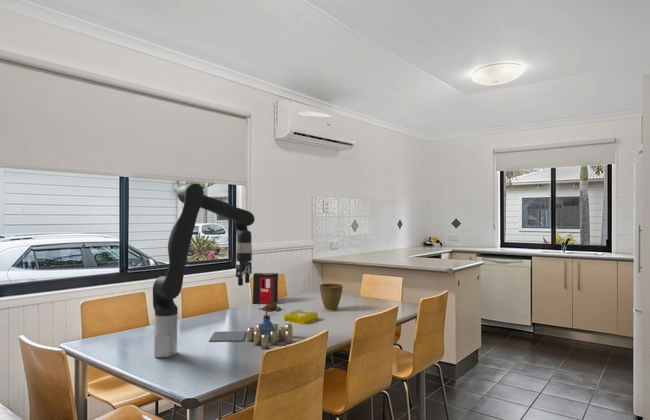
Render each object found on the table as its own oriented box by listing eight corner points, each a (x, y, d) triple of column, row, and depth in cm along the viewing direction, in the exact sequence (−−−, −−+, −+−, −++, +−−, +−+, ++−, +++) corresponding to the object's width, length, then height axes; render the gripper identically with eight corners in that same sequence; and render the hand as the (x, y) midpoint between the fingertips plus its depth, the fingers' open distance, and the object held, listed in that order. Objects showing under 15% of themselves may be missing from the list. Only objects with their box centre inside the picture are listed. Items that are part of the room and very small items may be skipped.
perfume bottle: (273, 338, 210) (273, 314, 210) (272, 342, 203) (272, 317, 204) (260, 338, 209) (261, 314, 210) (259, 342, 203) (259, 317, 203)
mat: (243, 341, 204) (243, 340, 205) (208, 341, 203) (208, 340, 203) (246, 332, 220) (246, 331, 220) (214, 332, 219) (214, 331, 219)
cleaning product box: (252, 304, 293) (253, 274, 293) (254, 301, 302) (254, 273, 302) (277, 304, 294) (277, 274, 295) (277, 301, 303) (278, 273, 303)
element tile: (318, 320, 251) (319, 312, 251) (303, 325, 239) (303, 316, 239) (298, 316, 259) (298, 308, 260) (282, 321, 247) (282, 313, 247)
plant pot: (319, 307, 285) (320, 283, 285) (342, 307, 285) (342, 283, 285) (318, 312, 270) (319, 286, 271) (342, 312, 270) (342, 287, 270)
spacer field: (292, 349, 193) (292, 335, 194) (244, 349, 192) (244, 336, 192) (291, 332, 222) (292, 320, 222) (249, 332, 220) (250, 321, 220)
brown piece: (288, 311, 275) (288, 301, 275) (267, 316, 258) (267, 307, 258) (267, 307, 285) (267, 298, 285) (246, 313, 268) (246, 303, 268)
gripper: (245, 253, 206) (245, 286, 206) (256, 250, 220) (256, 282, 220) (231, 252, 208) (230, 286, 208) (242, 250, 222) (242, 281, 222)
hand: (243, 284), depth 214 cm, fingers open, 8 cm apart
